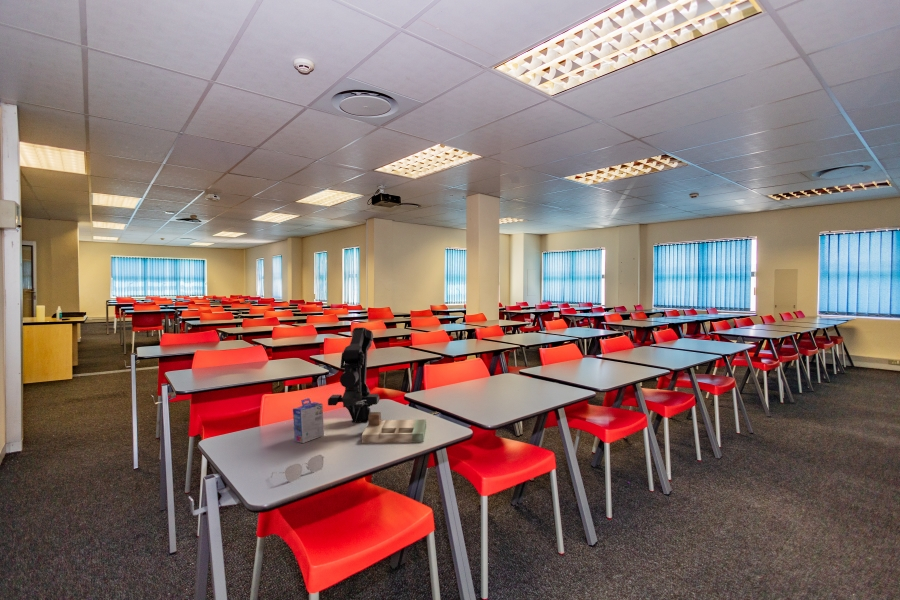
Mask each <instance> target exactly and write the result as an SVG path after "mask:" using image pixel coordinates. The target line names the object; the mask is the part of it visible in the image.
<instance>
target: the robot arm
mask: <svg viewBox="0 0 900 600" xmlns="http://www.w3.org/2000/svg"><path fill="white" fill-rule="evenodd" d="M351 332H352V333H351V339H350V343H349V345H347V346H345V348H344V349H343V351H342V352H341V359H340V365H339V366H340V367H339V369H340V370H341V369H342V370H344V371H343V373H342V374H341V375H340V376H339V382H340V385H341V386H342V387H344V392H343V394H332V395H331V396H329V398H327V406H337V404H339V403H342V407H343V408H346V409H347V411H348V413H349V415H350V417H351V423H369V418H368V415H369V414H370V412H371V408H370V407H371V406H374V405H378V404H379V402H380V395H379V394H378V393H371V392H370V389H369V387H368V385H367V363H368V352H369V349H371V346H372V343H373V342H374V334H373V331H372V330H370V329H368V328H366V327H363V326H362V327H355V328H354V327H353V330H352V331H351Z"/></svg>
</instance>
